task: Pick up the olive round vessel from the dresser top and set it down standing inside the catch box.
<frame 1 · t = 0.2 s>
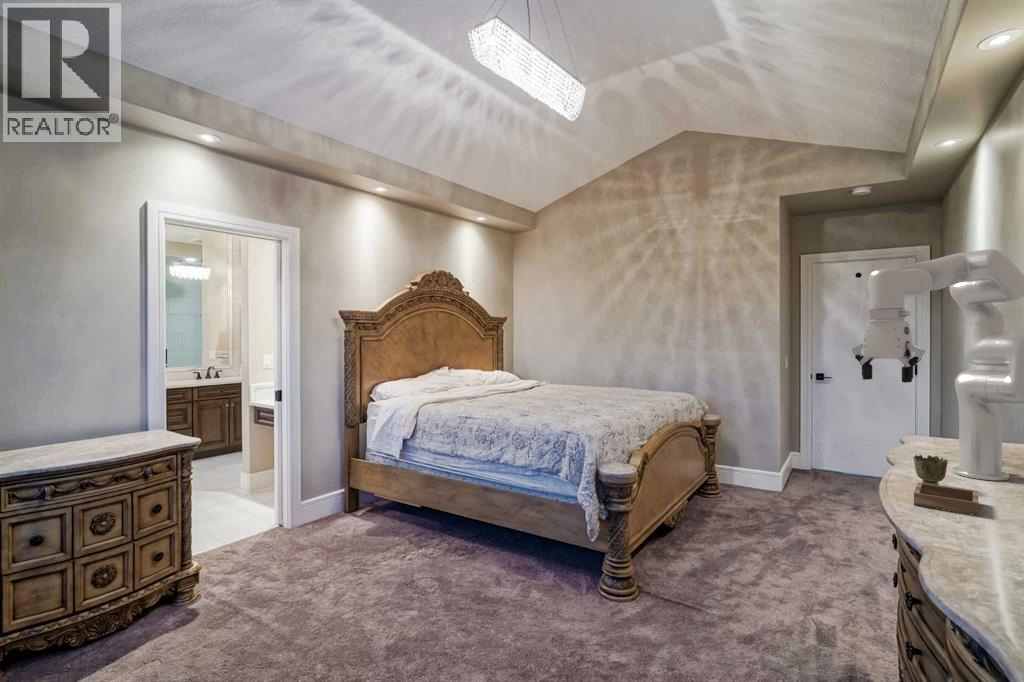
hand: (886, 380, 136), 31 cm above the dresser top, tool pointing down, fingers open, 9 cm apart
catch box: (946, 504, 129), on the dresser top
olive round vessel: (930, 486, 144), on the dresser top
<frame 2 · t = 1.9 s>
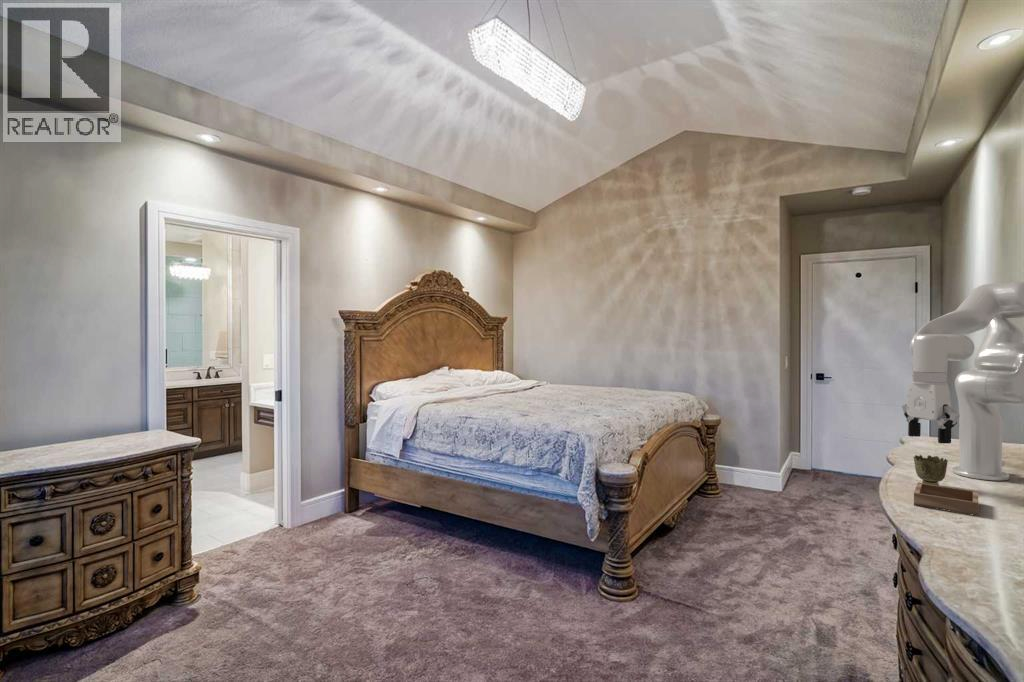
hand: (928, 439, 144), 13 cm above the dresser top, tool pointing down, fingers open, 9 cm apart
nothing on the dresser top moved.
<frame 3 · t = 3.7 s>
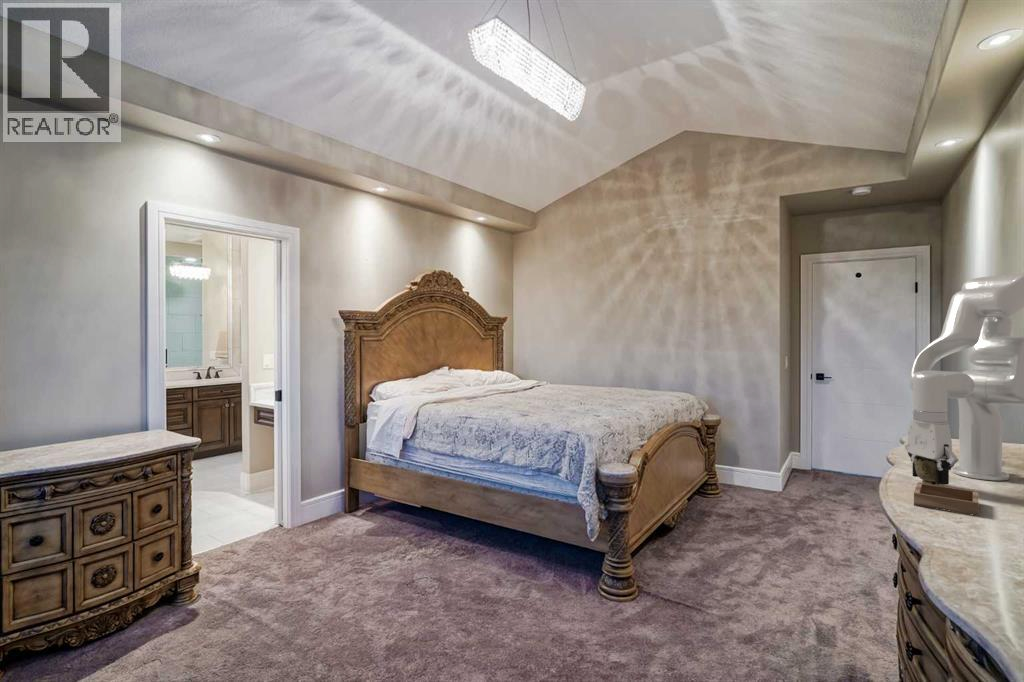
hand: (930, 479, 144), 2 cm above the dresser top, tool pointing down, fingers closed on olive round vessel, 7 cm apart
olive round vessel: (930, 486, 144), on the dresser top, touching gripper
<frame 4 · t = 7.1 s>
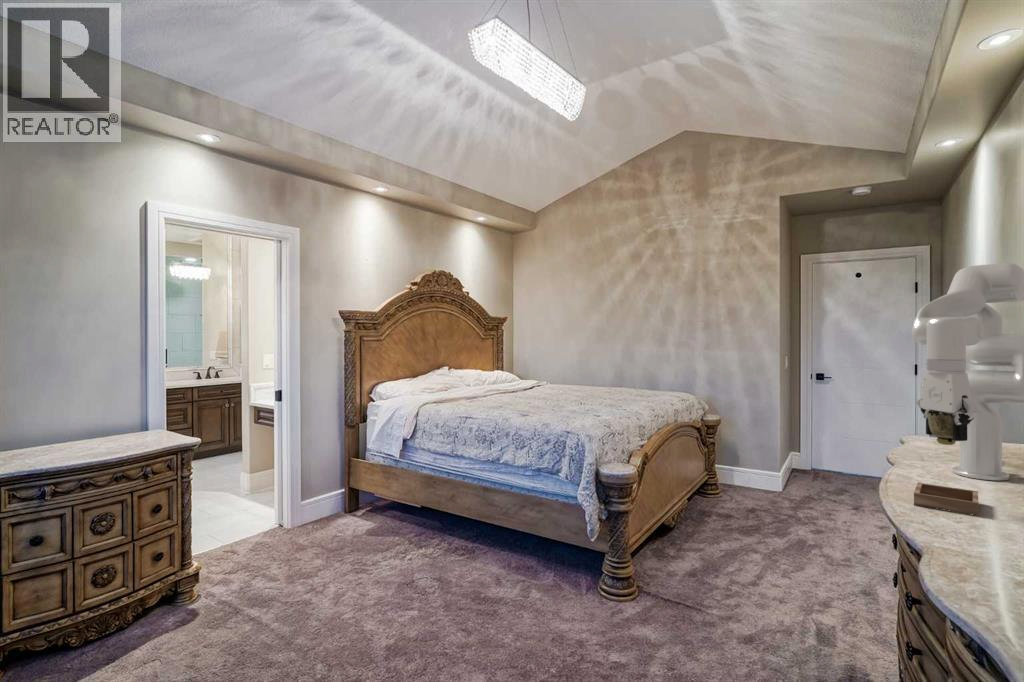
hand: (946, 436, 129), 17 cm above the dresser top, tool pointing down, fingers closed on olive round vessel, 7 cm apart
olive round vessel: (946, 444, 129), point 15 cm above the dresser top, touching gripper
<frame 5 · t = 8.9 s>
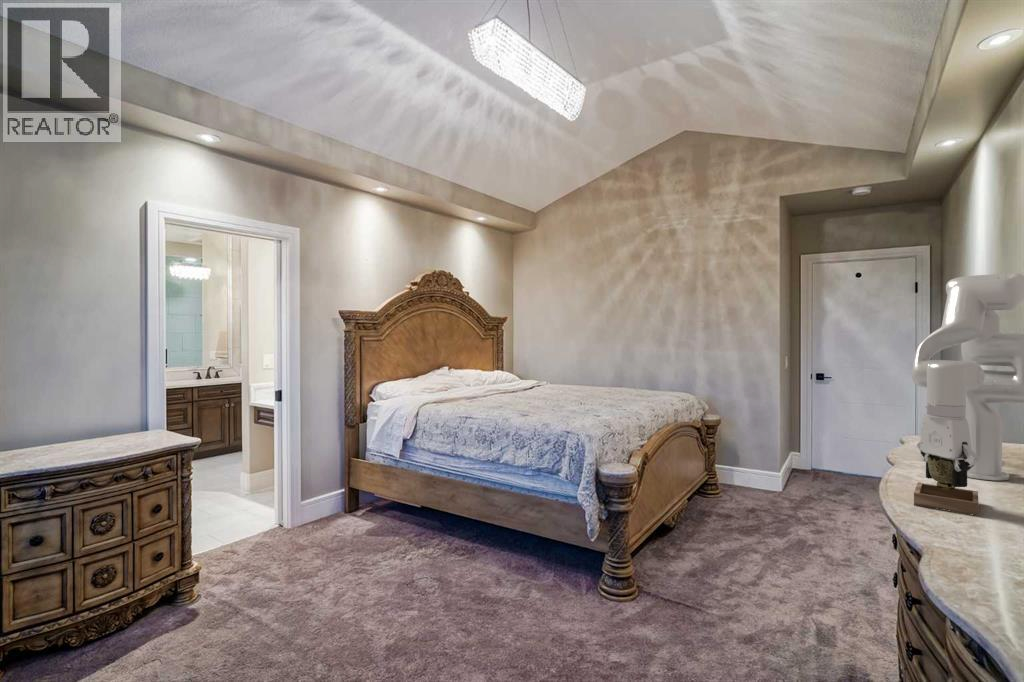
hand: (945, 481, 129), 6 cm above the dresser top, tool pointing down, fingers closed on olive round vessel, 7 cm apart
olive round vessel: (945, 489, 129), point 4 cm above the dresser top, touching gripper
when the fingers open (3 cm above the dresser top, at t = 10.4 s): olive round vessel drops 1 cm, resting on catch box.
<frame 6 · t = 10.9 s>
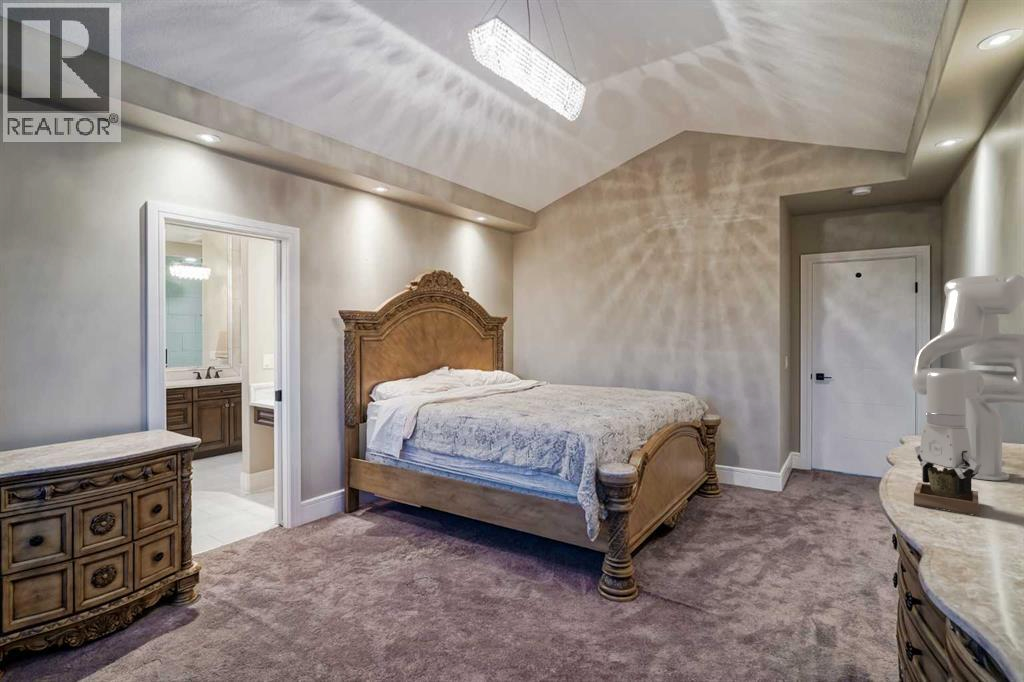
hand: (946, 487, 129), 4 cm above the dresser top, tool pointing down, fingers open, 9 cm apart
olive round vessel: (946, 503, 129), resting on catch box
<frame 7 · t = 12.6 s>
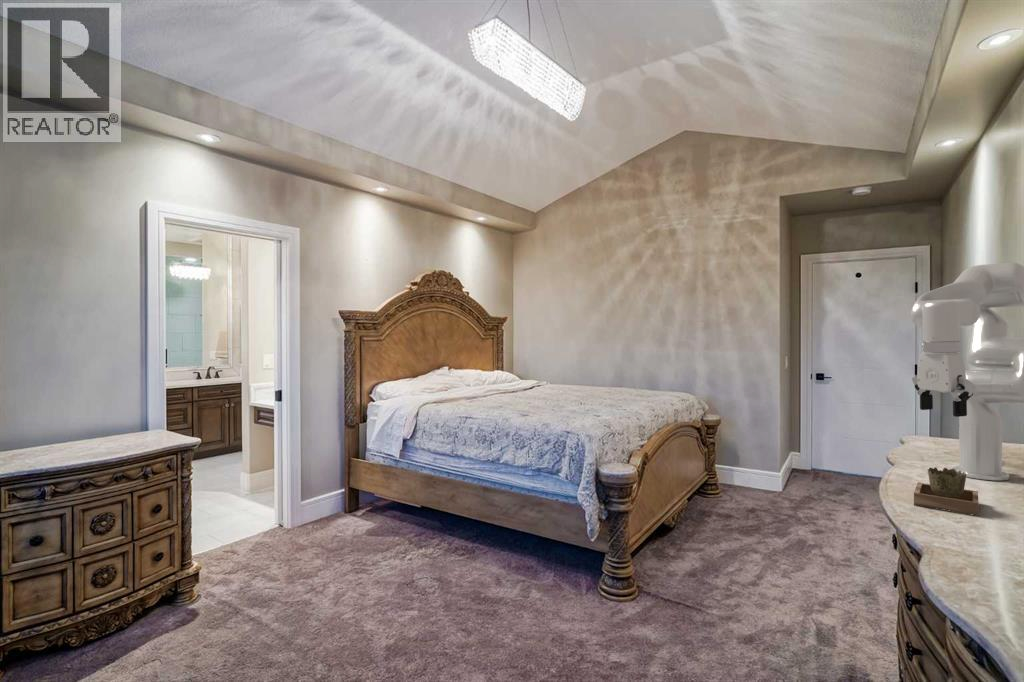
hand: (942, 412, 135), 22 cm above the dresser top, tool pointing down, fingers open, 9 cm apart
nothing on the dresser top moved.
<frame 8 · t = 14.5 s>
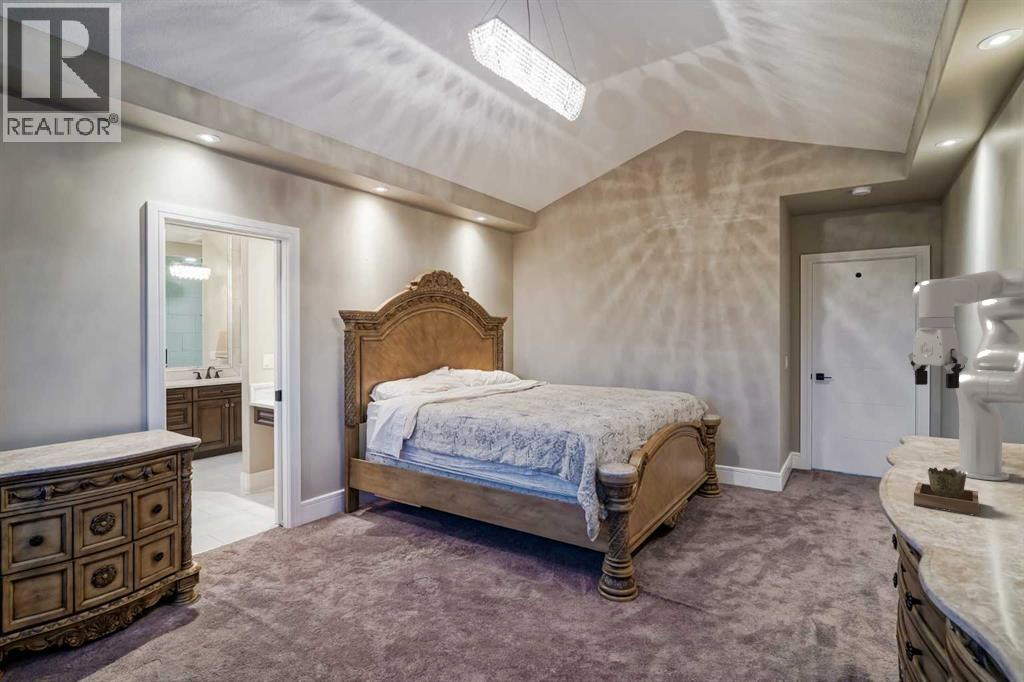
hand: (936, 386, 141), 28 cm above the dresser top, tool pointing down, fingers open, 9 cm apart
nothing on the dresser top moved.
at the end: olive round vessel 0.1 cm from the catch box (horizontally); olive round vessel tilted 0°; the gripper is holding nothing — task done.
